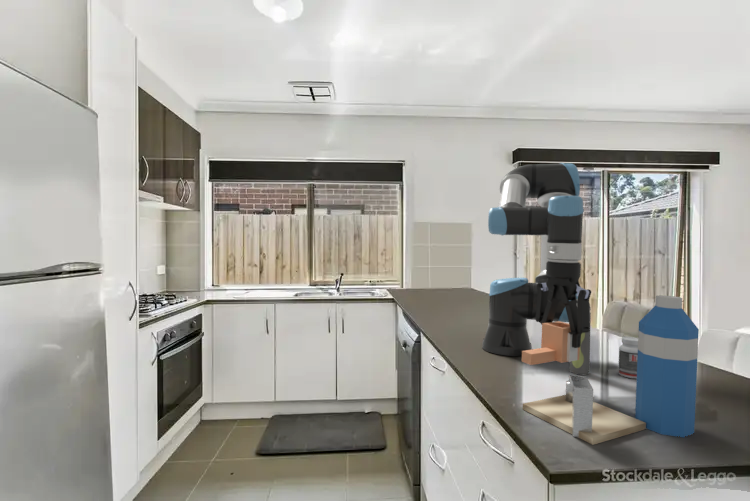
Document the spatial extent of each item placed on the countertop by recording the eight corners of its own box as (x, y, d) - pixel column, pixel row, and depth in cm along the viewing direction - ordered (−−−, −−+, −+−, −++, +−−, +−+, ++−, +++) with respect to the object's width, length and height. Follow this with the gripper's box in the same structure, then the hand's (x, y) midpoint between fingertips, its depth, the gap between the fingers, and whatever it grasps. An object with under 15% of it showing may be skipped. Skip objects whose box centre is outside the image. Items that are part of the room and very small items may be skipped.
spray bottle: (573, 368, 113) (575, 297, 113) (592, 372, 110) (594, 299, 109) (566, 372, 110) (569, 298, 109) (585, 376, 106) (588, 300, 106)
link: (536, 367, 91) (537, 331, 90) (516, 359, 96) (517, 326, 96) (579, 359, 97) (580, 326, 97) (558, 352, 102) (559, 321, 102)
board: (522, 409, 85) (522, 403, 85) (572, 398, 91) (572, 393, 91) (592, 444, 70) (593, 437, 70) (645, 429, 77) (646, 422, 77)
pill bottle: (647, 380, 105) (648, 342, 105) (623, 378, 106) (624, 340, 106) (637, 373, 111) (639, 337, 110) (614, 371, 112) (616, 335, 112)
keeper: (568, 420, 80) (569, 375, 80) (585, 423, 79) (586, 377, 79) (572, 436, 73) (574, 387, 73) (591, 439, 72) (593, 389, 72)
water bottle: (623, 415, 83) (628, 293, 82) (666, 415, 84) (671, 293, 83) (659, 437, 74) (665, 300, 73) (707, 436, 74) (713, 300, 74)
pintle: (562, 399, 87) (563, 375, 87) (570, 398, 88) (571, 374, 88) (572, 403, 85) (573, 379, 85) (580, 402, 86) (581, 377, 86)
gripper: (521, 258, 104) (518, 347, 105) (589, 264, 87) (584, 370, 88) (542, 258, 107) (539, 344, 108) (611, 263, 90) (607, 366, 91)
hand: (559, 356), depth 98 cm, fingers closed on link, 6 cm apart
